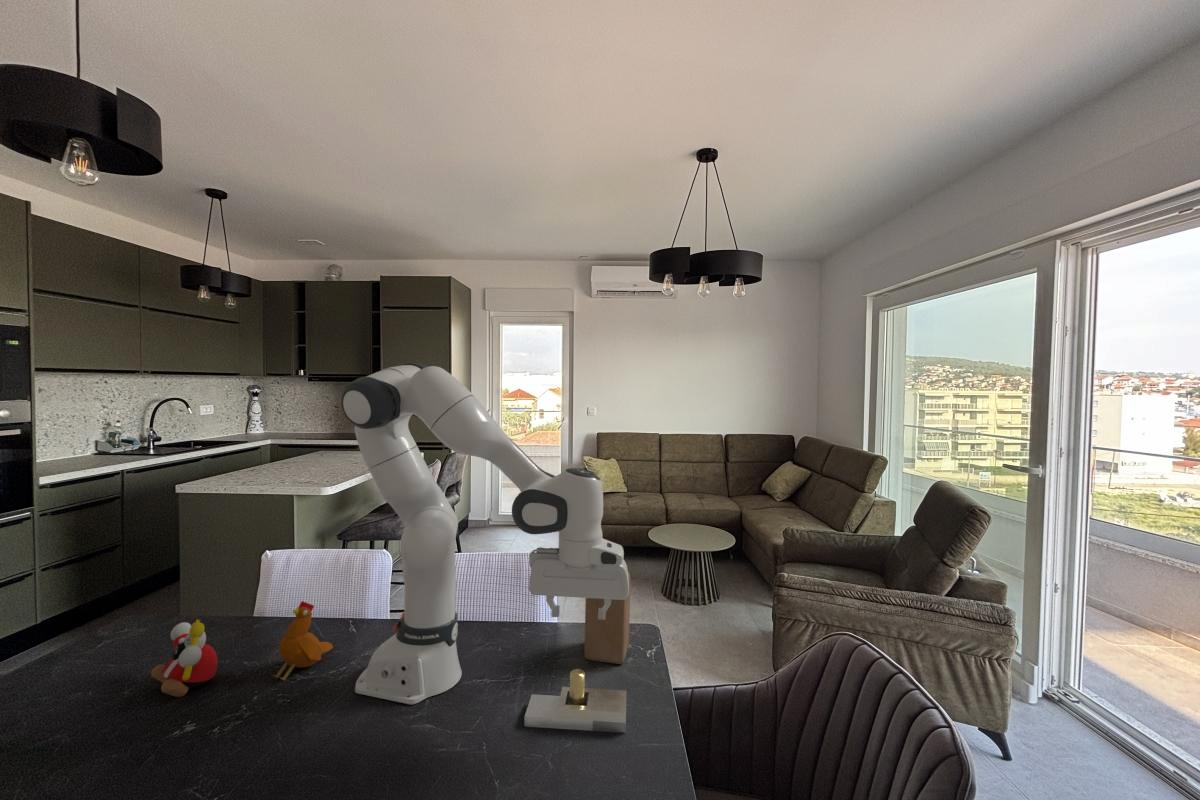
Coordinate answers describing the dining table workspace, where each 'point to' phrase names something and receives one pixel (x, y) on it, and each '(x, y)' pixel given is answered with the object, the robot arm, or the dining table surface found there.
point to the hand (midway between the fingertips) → (578, 617)
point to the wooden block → (607, 630)
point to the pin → (577, 687)
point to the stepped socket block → (579, 711)
